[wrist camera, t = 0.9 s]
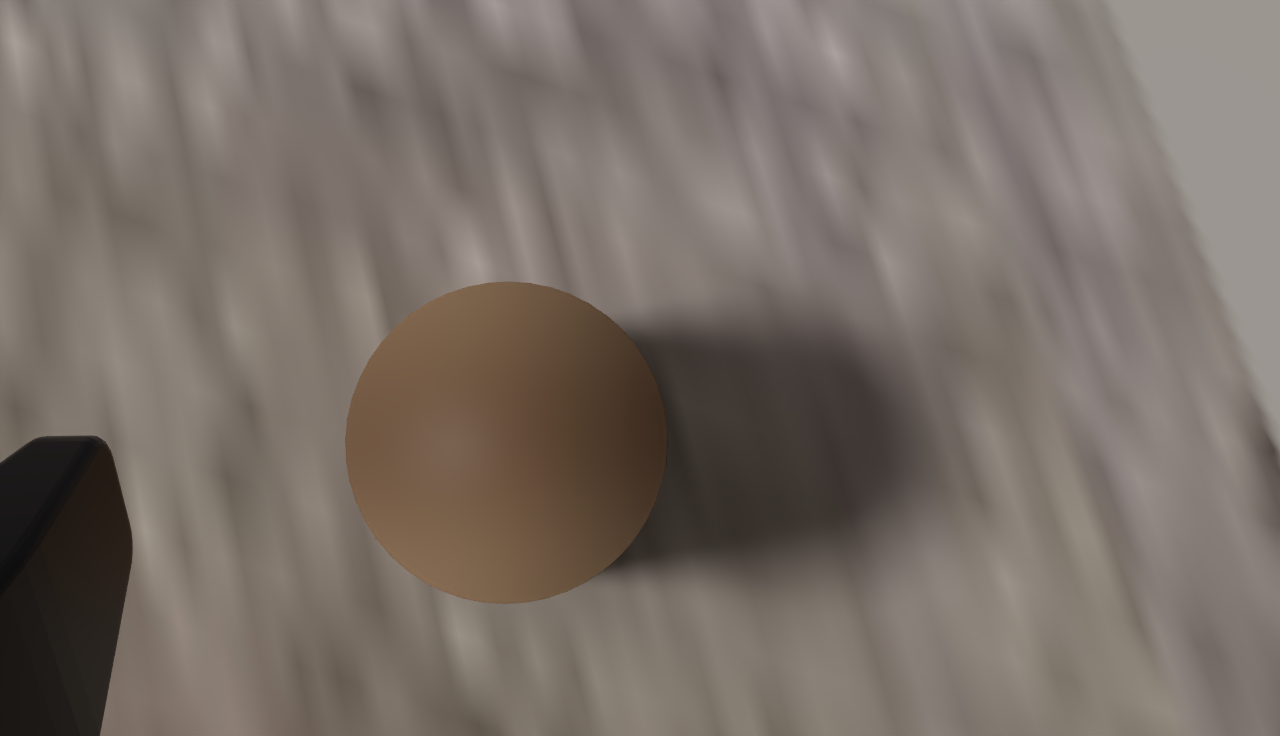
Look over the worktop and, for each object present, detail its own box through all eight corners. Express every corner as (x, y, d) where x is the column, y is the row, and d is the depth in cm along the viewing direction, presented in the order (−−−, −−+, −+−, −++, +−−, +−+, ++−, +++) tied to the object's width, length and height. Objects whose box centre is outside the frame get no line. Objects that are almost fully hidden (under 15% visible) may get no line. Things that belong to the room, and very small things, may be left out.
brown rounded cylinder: (655, 577, 25) (667, 604, 19) (407, 576, 25) (340, 603, 19) (655, 332, 25) (667, 283, 19) (413, 331, 25) (349, 280, 19)
